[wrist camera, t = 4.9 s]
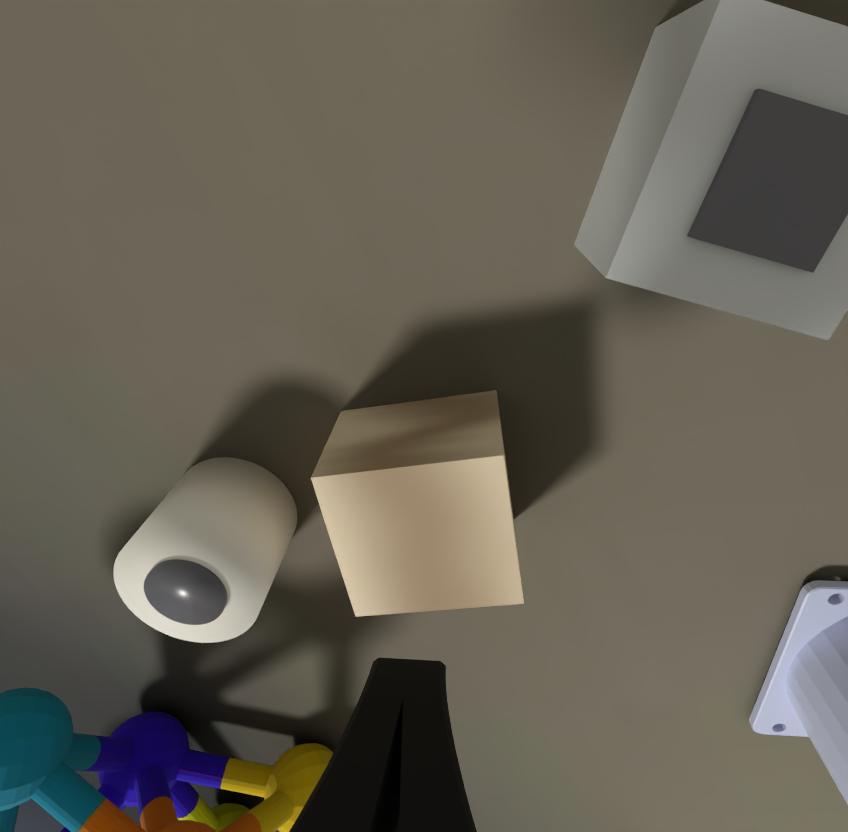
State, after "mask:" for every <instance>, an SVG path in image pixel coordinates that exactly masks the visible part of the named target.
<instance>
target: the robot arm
mask: <svg viewBox="0 0 848 832" xmlns="http://www.w3.org/2000/svg"><path fill="white" fill-rule="evenodd" d="M833 594H834V595H833ZM749 722H750V724H751V726H752V728H753V730H754V731H755V732H757V733H760V734H770V735H787V736H805V737H810V739H811V741H812V743H813V744H814V746H815V748H816V750H817V752H818V753H819V755H820V757H821V759H822V760H823V762H824V764H825V766H826V767H827V769H828V771H829V773H830V774H831V776H832V778H833V780H834V782H835V783H836V785H837V787H838V789H839V790H840V792H841V794H842V796H843V797H844V799H845V801H846V803H847V804H848V581H823V580H818V581H812V582H809V583H807V584H806V585H804V586H803V588H802V589H801V591H800V593H799V596H798V598H797V601H796V603H795V606H794V608H793V611H792V613H791V616H790V618H789V621H788V623H787V626H786V628H785V631H784V633H783V636H782V638H781V641H780V643H779V646H778V648H777V651H776V653H775V656H774V658H773V661H772V663H771V666H770V668H769V671H768V673H767V676H766V678H765V681H764V683H763V686H762V688H761V691H760V693H759V696H758V698H757V701H756V703H755V706H754V708H753V711H752V713H751V716H750V719H749ZM289 832H477V831H476V828H475V824H474V821H473V818H472V814H471V811H470V807H469V803H468V799H467V796H466V792H465V788H464V784H463V780H462V775H461V771H460V767H459V763H458V758H457V754H456V750H455V745H454V740H453V735H452V729H451V723H450V717H449V711H448V703H447V694H446V666H445V665H444V664H443V663H442V662H441V661H428V660H410V659H392V658H378V659H376V660H375V661H373V664H372V667H371V670H370V673H369V676H368V679H367V681H366V684H365V687H364V689H363V691H362V694H361V696H360V699H359V701H358V703H357V706H356V708H355V710H354V712H353V714H352V716H351V719H350V721H349V723H348V725H347V727H346V729H345V731H344V733H343V735H342V737H341V739H340V741H339V743H338V745H337V747H336V749H335V751H334V753H333V755H332V757H331V759H330V761H329V763H328V765H327V767H326V768H325V770H324V772H323V774H322V776H321V778H320V779H319V781H318V783H317V785H316V786H315V788H314V790H313V792H312V793H311V795H310V797H309V799H308V800H307V802H306V804H305V806H304V807H303V809H302V811H301V813H300V814H299V816H298V818H297V819H296V821H295V823H294V824H293V826H292V828H291V829H290V831H289Z"/></svg>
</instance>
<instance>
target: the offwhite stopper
mask: <svg viewBox="0 0 848 832" xmlns="http://www.w3.org/2000/svg"><path fill="white" fill-rule="evenodd" d="M297 518H298V517H297V509H296V504H295V502H294V499H293V497H292V495H291V493H290V492H289V490H288V489H287V487H286V486H285V485H284V484H283V483H282V482H281V481H280V479H278V478H277V477H276V476H275V475H274V474H272V473H271V472H270V471H268V470H267V469H265V468H263V467H261V466H259V465H257V464H255V463H253V462H250V461H246V460H243V459H238V458H231V457H218V458H211V459H207V460H204V461H202V462H199V463H197V464H196V465H194V466H192V467H191V468H190V469H189V470H188V471H187V472H186V473H185V474H184V475H183V476H182V478H181V479H180V480H179V481H178V482H177V484H176V485H175V486H174V487H173V488H172V490H171V491H170V492H169V493H168V494H167V496H166V497H165V498H164V499H163V500H162V502H161V503H160V504H159V505H158V506H157V508H156V509H155V510H154V511H153V512H152V514H151V515H150V516H149V517H148V518H147V520H146V521H145V522H144V523H143V524H142V526H141V527H140V528H139V529H138V530H137V532H136V533H135V534H134V535H133V536H132V538H131V539H130V540H129V541H128V542H127V544H126V545H125V546H124V547H123V549H122V550H121V551H120V552H119V554H118V556H117V558H116V560H115V564H114V572H113V574H114V581H115V585H116V588H117V591H118V593H119V595H120V597H121V598H122V600H123V602H124V603H125V604H126V605H127V607H128V608H129V609H130V610H131V611H132V612H133V613H134V614H135V615H136V616H137V617H138V618H139V619H141V620H142V621H143V622H145V623H146V624H148V625H149V626H151V627H152V628H154V629H156V630H158V631H160V632H162V633H164V634H166V635H169V636H172V637H174V638H178V639H181V640H186V641H191V642H199V643H214V642H221V641H226V640H229V639H232V638H235V637H237V636H239V635H241V634H243V633H244V632H245V631H247V630H248V629H249V628H250V627H251V626H252V625H253V623H254V622H255V621H256V619H257V617H258V615H259V612H260V610H261V608H262V605H263V603H264V601H265V598H266V596H267V594H268V592H269V589H270V587H271V585H272V582H273V580H274V578H275V576H276V573H277V571H278V569H279V566H280V564H281V562H282V559H283V557H284V555H285V553H286V550H287V548H288V546H289V543H290V541H291V539H292V536H293V534H294V532H295V529H296V526H297Z"/></svg>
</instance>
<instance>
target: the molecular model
mask: <svg viewBox="0 0 848 832" xmlns="http://www.w3.org/2000/svg"><path fill="white" fill-rule="evenodd" d="M332 755H333V752H332V751H331V750H330V749H329V748H327V747H326V746H324V745H321V744H317V743H307V744H300V745H297V746H294V747H292V748H290V749H288V750H287V751H285V752H284V753H283V754H282V755H281V756H280V757H279V759H278V760H277V761H276V763H275V764H274V766H270V765H265V764H260V763H255V762H250V761H245V760H240V759H235V758H230V757H225V756H220V755H215V754H210V753H205V752H200V751H195V750H190V749H189V742H188V736H187V734H186V732H185V729H184V727H183V725H182V724H181V723H180V722H179V721H178V720H177V719H176V718H175V717H173V716H172V715H170V714H167V713H164V712H147V713H142V714H140V715H137V716H135V717H132V718H130V719H128V720H127V721H125V722H124V723H122V724H121V725H120V726H119V727H118V728H117V729H116V730H115V731H114V732H113V733H112V734H111V736H110V737H104V736H95V735H86V734H77V733H73V724H72V718H71V715H70V713H69V711H68V709H67V707H66V705H65V704H64V703H63V702H62V701H61V700H60V699H59V698H58V697H56V696H55V695H53V694H51V693H50V692H47V691H44V690H40V689H36V688H19V689H13V690H8V691H5V692H2V693H0V832H14V828H15V823H16V818H17V813H18V808H19V805H20V804H22V803H24V802H26V801H28V800H29V799H30V798H32V799H33V800H34V801H35V802H37V803H38V804H39V805H40V806H41V807H42V808H44V809H45V810H46V811H47V812H48V813H50V814H51V815H52V816H53V817H54V818H55V819H57V820H58V821H59V822H60V823H61V824H62V825H64V826H65V827H64V828H63V830H62V831H61V832H274V831H276V830H279V831H280V832H289V831H290V829H291V828H292V826H293V824H294V823H295V821H296V819H297V818H298V816H299V814H300V813H301V811H302V809H303V807H304V806H305V804H306V802H307V800H308V799H309V797H310V795H311V793H312V792H313V790H314V788H315V786H316V785H317V783H318V781H319V779H320V778H321V776H322V774H323V772H324V770H325V768H326V767H327V765H328V763H329V761H330V759H331V757H332ZM75 771H98V775H99V781H100V784H101V787H100V788H99V789H98V790H96V789H95V788H94V787H93V786H92V785H90V784H89V783H88V782H87V781H86V780H85V779H83V778H82V777H81V776H80V775H79V774H77V773H76V772H75ZM189 783H194V784H199V785H204V786H209V787H214V788H220V789H225V790H230V791H235V792H240V793H245V794H250V795H255V796H260V797H264V801H263V802H261V803H260V804H258V805H257V806H255V807H254V808H253V809H251V810H250V809H248V808H247V807H245V806H243V805H240V804H235V803H223V804H220V805H217V806H215V807H213V808H210V807H209V806H208V805H207V804H206V802H205V801H204V800H203V799H202V798H201V797H200V795H199V794H198V793H197V792H196V791H195V789H194V788H193V787H192V786H191V785H190V784H189ZM125 806H138V810H139V815H140V821H141V826H142V828H141V827H140V826H139V825H138V824H137V823H135V822H134V821H133V820H132V819H131V818H129V817H128V816H127V815H126V814H125V813H124V812H122V810H123V809H124V808H125ZM177 818H178V819H179V820H178V819H177Z"/></svg>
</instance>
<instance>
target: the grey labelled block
mask: <svg viewBox="0 0 848 832" xmlns="http://www.w3.org/2000/svg"><path fill="white" fill-rule="evenodd" d="M574 245H575V246H576V247H577V248H578V249H579V250H580V251H581V253H582V254H583V255H584V256H585V257H586V258H587V259H588V260H589V261H590V262H591V263H592V264H593V265H594V266H595V267H596V268H597V269H598V270H599V271H600V273H601V274H602V275H603V276H604V277H605V278H607V279H611V280H614V281H618V282H621V283H625V284H629V285H632V286H636V287H639V288H643V289H646V290H650V291H654V292H657V293H661V294H664V295H668V296H671V297H675V298H679V299H682V300H686V301H689V302H693V303H696V304H700V305H703V306H707V307H711V308H714V309H718V310H721V311H725V312H728V313H732V314H736V315H739V316H743V317H746V318H750V319H753V320H757V321H761V322H764V323H768V324H771V325H775V326H778V327H782V328H786V329H789V330H793V331H796V332H800V333H803V334H807V335H811V336H814V337H818V338H821V339H825V340H829V338H830V337H831V335H832V334H833V332H834V331H835V329H836V327H837V326H838V324H839V323H840V321H841V320H842V318H843V316H844V315H845V313H846V312H847V310H848V26H845V25H841V24H838V23H835V22H832V21H829V20H825V19H822V18H819V17H816V16H813V15H809V14H806V13H803V12H800V11H797V10H794V9H790V8H787V7H784V6H781V5H778V4H774V3H771V2H768V1H765V0H703V1H702V2H700V3H698V4H696V5H694V6H693V7H691V8H689V9H687V10H685V11H684V12H682V13H680V14H678V15H677V16H675V17H673V18H671V19H669V20H668V21H666V22H664V23H662V24H660V25H659V26H657V27H655V30H654V32H653V35H652V38H651V40H650V43H649V46H648V49H647V51H646V54H645V57H644V59H643V62H642V65H641V67H640V70H639V73H638V75H637V78H636V81H635V83H634V86H633V89H632V91H631V94H630V97H629V99H628V102H627V105H626V107H625V110H624V113H623V115H622V118H621V121H620V123H619V126H618V129H617V131H616V134H615V137H614V139H613V142H612V145H611V147H610V150H609V153H608V155H607V158H606V161H605V163H604V166H603V169H602V171H601V174H600V177H599V179H598V182H597V185H596V187H595V190H594V193H593V195H592V198H591V201H590V203H589V206H588V209H587V212H586V214H585V217H584V220H583V222H582V225H581V228H580V230H579V233H578V236H577V238H576V241H575V244H574Z"/></svg>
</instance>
